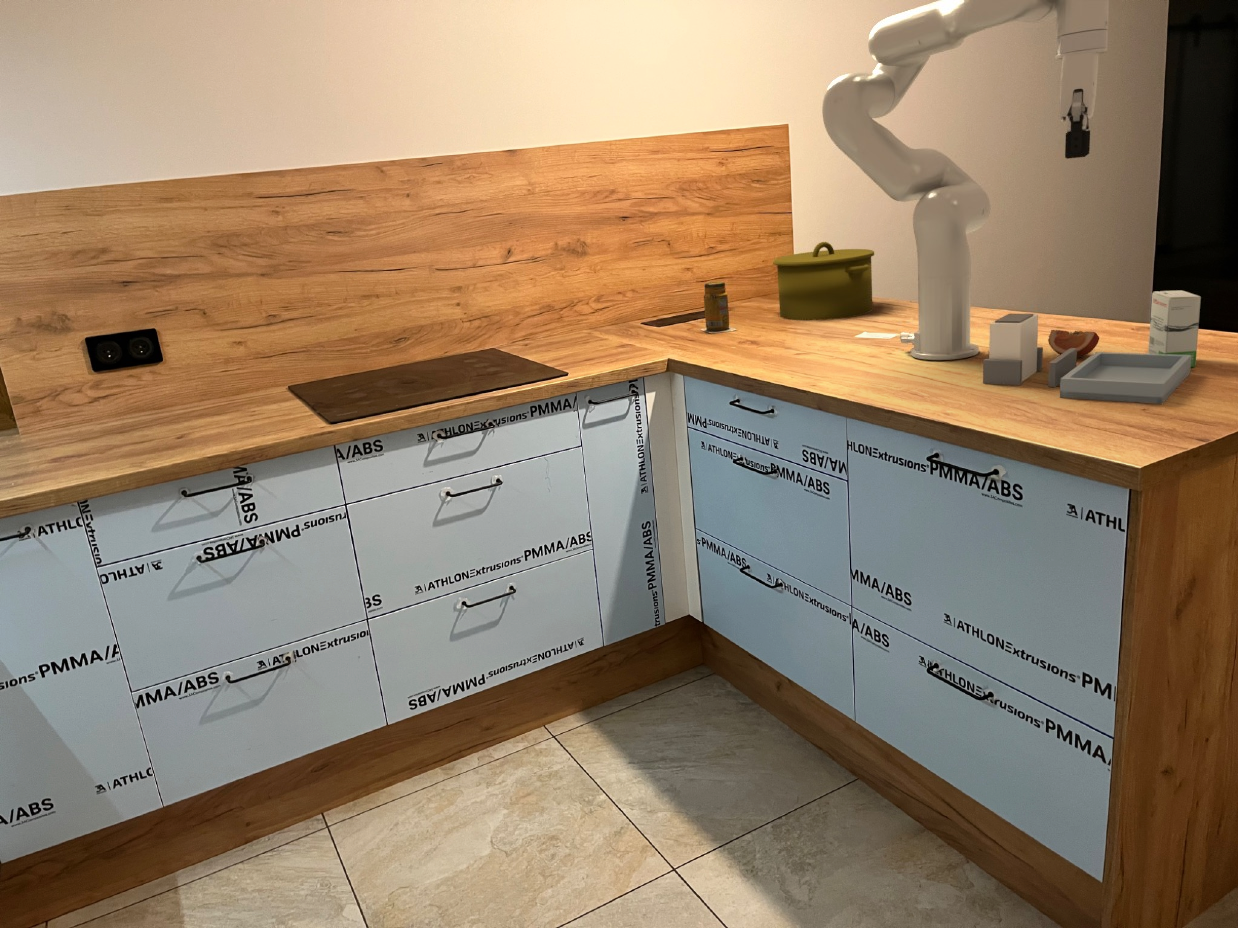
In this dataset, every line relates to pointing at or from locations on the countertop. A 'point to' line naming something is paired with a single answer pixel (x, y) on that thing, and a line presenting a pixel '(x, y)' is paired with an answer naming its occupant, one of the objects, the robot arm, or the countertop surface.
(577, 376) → the countertop surface
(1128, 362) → the tray
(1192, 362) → the ink box
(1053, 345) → the fruit slice
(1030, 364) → the grey-panelled white block
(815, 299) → the cooking pot
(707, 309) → the condiment
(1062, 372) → the dock
